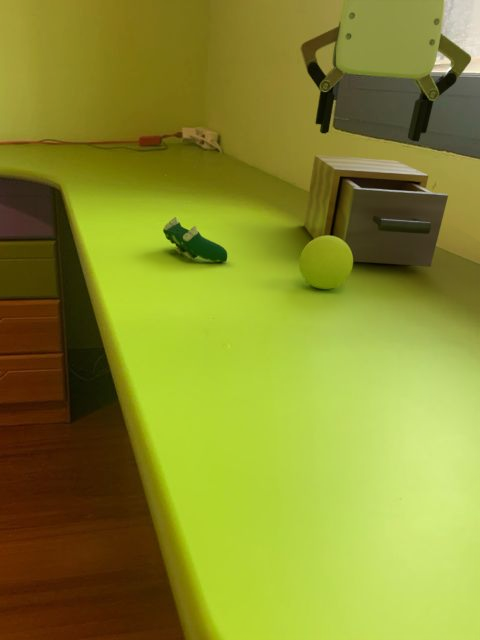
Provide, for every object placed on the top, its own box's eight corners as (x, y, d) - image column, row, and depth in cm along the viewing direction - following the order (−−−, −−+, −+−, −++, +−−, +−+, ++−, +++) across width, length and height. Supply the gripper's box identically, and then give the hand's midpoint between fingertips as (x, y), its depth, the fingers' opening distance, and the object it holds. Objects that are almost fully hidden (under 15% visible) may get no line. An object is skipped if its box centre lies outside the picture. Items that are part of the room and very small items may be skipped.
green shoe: (180, 260, 95) (153, 230, 91) (198, 239, 95) (173, 208, 91) (212, 278, 88) (185, 247, 84) (232, 256, 87) (206, 223, 84)
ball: (341, 282, 83) (351, 232, 80) (352, 297, 78) (363, 244, 75) (292, 279, 83) (300, 228, 80) (299, 293, 78) (308, 240, 75)
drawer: (442, 276, 85) (461, 201, 81) (348, 270, 85) (363, 195, 81) (399, 240, 102) (413, 177, 98) (320, 235, 102) (331, 172, 98)
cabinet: (410, 254, 98) (428, 175, 93) (321, 248, 98) (334, 168, 93) (381, 231, 112) (396, 160, 107) (303, 225, 112) (314, 155, 107)
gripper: (485, -41, 70) (441, 140, 78) (313, -52, 72) (287, 127, 80) (507, -53, 63) (457, 146, 71) (318, -64, 65) (289, 132, 73)
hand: (368, 136), depth 75 cm, fingers open, 9 cm apart
